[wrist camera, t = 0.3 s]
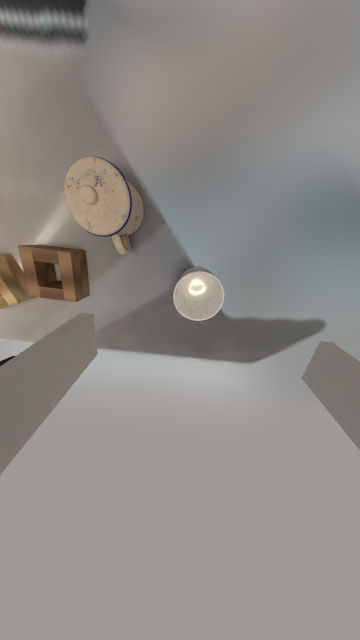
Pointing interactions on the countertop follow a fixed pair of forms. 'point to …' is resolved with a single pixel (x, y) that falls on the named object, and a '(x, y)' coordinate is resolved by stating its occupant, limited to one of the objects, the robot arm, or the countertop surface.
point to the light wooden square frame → (11, 282)
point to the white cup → (198, 294)
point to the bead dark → (43, 275)
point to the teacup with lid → (103, 200)
